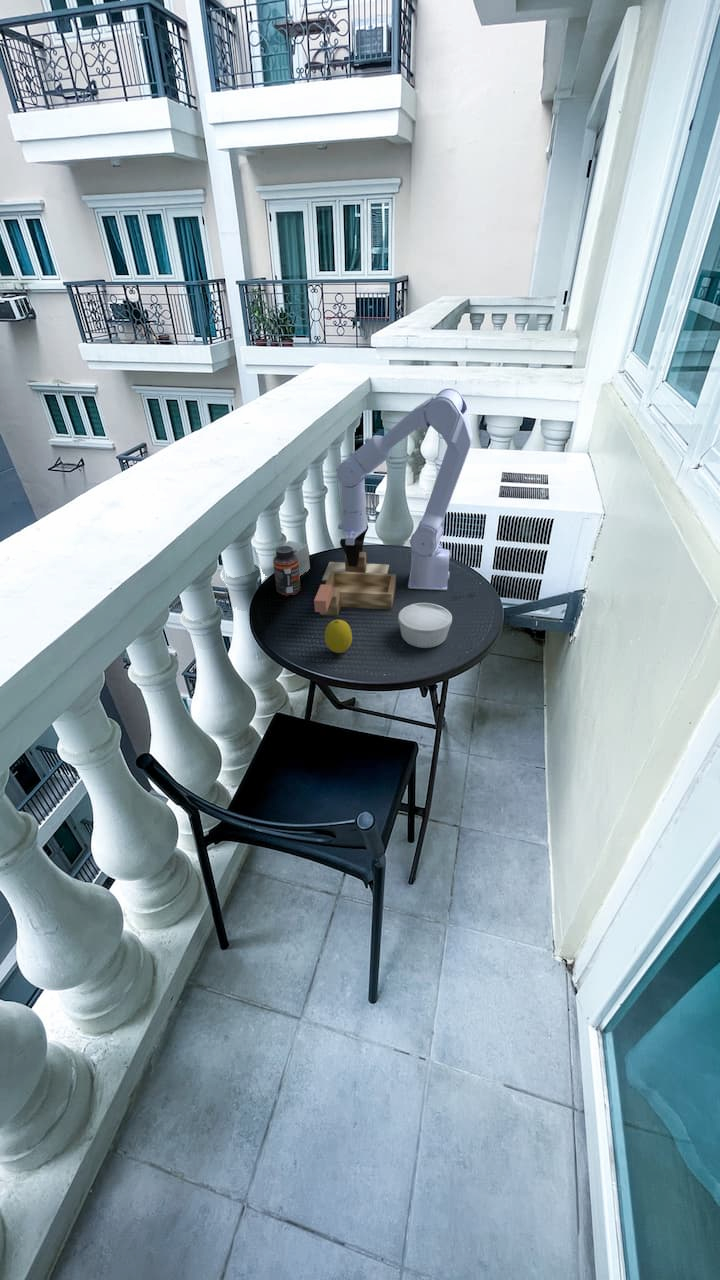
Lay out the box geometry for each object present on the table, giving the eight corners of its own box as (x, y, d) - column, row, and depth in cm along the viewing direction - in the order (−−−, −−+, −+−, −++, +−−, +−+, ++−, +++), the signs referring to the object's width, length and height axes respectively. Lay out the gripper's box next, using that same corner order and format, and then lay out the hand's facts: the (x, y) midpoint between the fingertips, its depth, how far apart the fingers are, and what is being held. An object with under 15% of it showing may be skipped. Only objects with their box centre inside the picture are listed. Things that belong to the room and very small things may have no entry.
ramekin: (452, 625, 120) (454, 604, 117) (448, 654, 111) (450, 633, 108) (401, 620, 122) (402, 600, 119) (394, 648, 113) (394, 627, 110)
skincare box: (290, 565, 146) (288, 540, 141) (310, 569, 143) (308, 543, 139) (278, 575, 141) (275, 549, 137) (299, 579, 139) (296, 553, 135)
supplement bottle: (296, 598, 131) (292, 555, 125) (273, 596, 132) (267, 553, 126) (303, 586, 136) (300, 544, 129) (281, 584, 137) (276, 543, 130)
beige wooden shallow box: (395, 588, 134) (395, 570, 131) (389, 618, 122) (389, 599, 119) (331, 585, 136) (330, 567, 133) (320, 614, 124) (318, 595, 122)
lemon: (349, 661, 110) (348, 628, 105) (323, 659, 110) (320, 626, 106) (355, 646, 114) (353, 613, 109) (329, 643, 115) (327, 611, 110)
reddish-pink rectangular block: (332, 596, 121) (332, 584, 119) (326, 612, 115) (325, 601, 114) (321, 595, 121) (320, 584, 120) (314, 611, 116) (314, 600, 114)
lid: (388, 568, 144) (389, 547, 141) (384, 586, 136) (384, 564, 133) (329, 565, 146) (328, 544, 143) (322, 583, 138) (320, 561, 135)
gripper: (342, 497, 137) (344, 546, 145) (331, 519, 126) (334, 571, 133) (370, 498, 136) (370, 547, 144) (361, 520, 125) (363, 573, 132)
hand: (355, 559), depth 139 cm, fingers open, 6 cm apart
